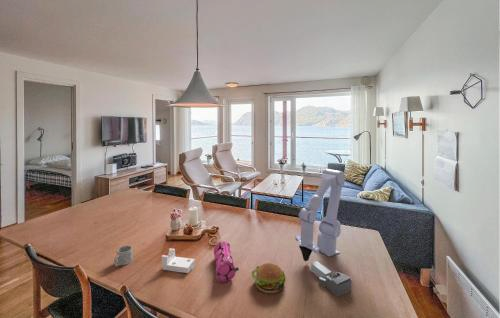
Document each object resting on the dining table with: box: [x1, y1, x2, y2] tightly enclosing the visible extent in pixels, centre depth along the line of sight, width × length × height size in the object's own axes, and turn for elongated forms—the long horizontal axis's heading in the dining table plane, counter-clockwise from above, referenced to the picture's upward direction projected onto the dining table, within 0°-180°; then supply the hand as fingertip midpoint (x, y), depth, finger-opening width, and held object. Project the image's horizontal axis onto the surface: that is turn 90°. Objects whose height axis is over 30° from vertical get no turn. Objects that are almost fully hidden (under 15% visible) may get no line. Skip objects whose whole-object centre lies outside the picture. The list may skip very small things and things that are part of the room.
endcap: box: [318, 270, 353, 298], centre depth 97 cm, size 10×10×5 cm
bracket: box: [161, 248, 196, 274], centre depth 110 cm, size 13×7×8 cm, turn 77°
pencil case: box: [213, 240, 239, 283], centre depth 109 cm, size 21×10×10 cm, turn 14°
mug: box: [113, 245, 134, 267], centre depth 114 cm, size 10×7×7 cm
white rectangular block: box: [310, 261, 333, 279], centre depth 104 cm, size 9×4×4 cm, turn 27°
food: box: [251, 262, 286, 294], centre depth 98 cm, size 14×14×8 cm
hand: (306, 260), depth 113 cm, fingers closed
